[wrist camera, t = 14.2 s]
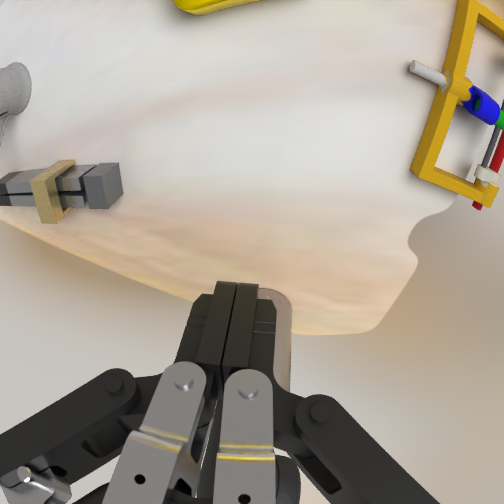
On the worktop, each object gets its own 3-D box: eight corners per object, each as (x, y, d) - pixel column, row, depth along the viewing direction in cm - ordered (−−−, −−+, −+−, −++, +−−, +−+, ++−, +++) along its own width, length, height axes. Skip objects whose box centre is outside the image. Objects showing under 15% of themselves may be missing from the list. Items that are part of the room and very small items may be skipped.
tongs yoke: (118, 162, 37) (101, 176, 33) (123, 193, 40) (108, 209, 36) (100, 163, 37) (82, 176, 34) (105, 193, 40) (89, 208, 36)
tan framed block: (74, 159, 37) (44, 180, 31) (82, 199, 40) (56, 224, 35) (59, 160, 37) (29, 181, 31) (67, 199, 41) (41, 223, 35)
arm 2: (98, 181, 39) (82, 195, 35) (100, 193, 40) (85, 208, 36) (12, 184, 40) (-5, 196, 36) (14, 193, 41) (-2, 205, 37)
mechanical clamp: (560, 33, 13) (499, 227, 30) (532, 29, 18) (478, 205, 35) (451, -54, 12) (389, 185, 30) (428, -42, 17) (374, 165, 35)
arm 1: (95, 164, 37) (78, 177, 34) (97, 176, 38) (81, 190, 35) (9, 173, 38) (-8, 184, 35) (11, 182, 40) (-5, 194, 36)
